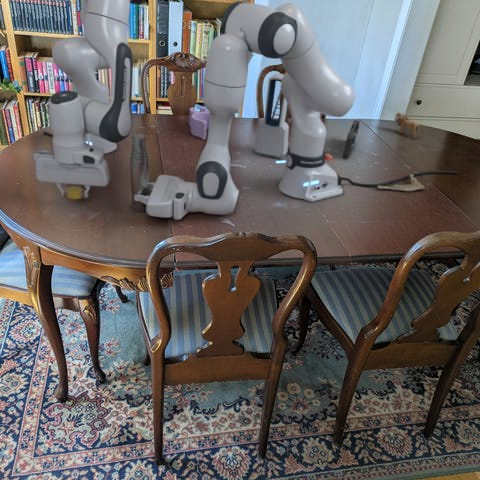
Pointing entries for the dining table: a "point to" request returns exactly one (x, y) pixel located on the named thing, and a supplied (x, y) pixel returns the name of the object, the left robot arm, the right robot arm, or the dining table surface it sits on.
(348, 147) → the handheld gaming console
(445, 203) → the dining table surface
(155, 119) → the dining table surface
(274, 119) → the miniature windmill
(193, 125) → the clip
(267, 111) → the electronic device
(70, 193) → the cap
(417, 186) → the jawbone
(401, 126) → the lion figurine
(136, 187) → the bottle
